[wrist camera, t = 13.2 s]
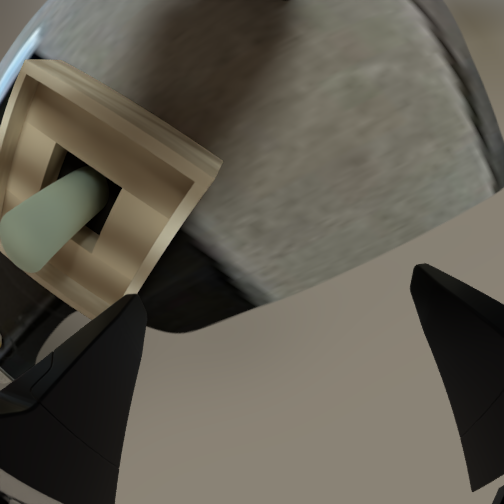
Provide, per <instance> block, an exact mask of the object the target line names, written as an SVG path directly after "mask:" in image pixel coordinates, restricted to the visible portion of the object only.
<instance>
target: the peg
mask: <svg viewBox="0 0 504 504" xmlns="http://www.w3.org/2000/svg"><path fill="white" fill-rule="evenodd" d="M108 199H109V186H108V183H107V180H106V178H105V177H104V175H103V174H101V173H100V172H98V171H97V170H95V169H94V168H92V167H90V166H84V167H81V168H79V169H77V170H75V171H73V172H71V173H70V174H68V175H66V176H64V177H62V178H61V179H59V180H57V181H56V182H54V183H52V184H50V185H49V186H47V187H45V188H44V189H42V190H41V191H39V192H37V193H36V194H34V195H33V196H31V197H29V198H28V199H26V200H25V201H23V202H22V203H20V204H19V205H17V206H16V207H14V208H13V209H12V210H10V211H9V212H7V213H6V214H5V215H4V216H3V217H2V219H1V222H0V239H1V243H2V245H3V248H4V250H5V252H6V254H7V255H8V257H9V258H10V260H11V261H12V262H13V263H14V264H15V265H16V266H17V267H19V268H20V269H22V270H23V271H26V272H29V273H35V272H38V271H39V270H41V268H42V267H43V266H44V265H45V264H46V263H47V262H48V261H49V260H50V259H51V258H52V257H53V256H54V255H55V254H56V253H57V252H58V251H59V250H60V249H61V248H62V246H63V245H64V244H65V243H67V242H68V241H69V240H70V239H71V238H72V237H73V236H74V235H75V234H76V233H77V232H78V231H79V230H80V229H81V228H82V227H83V226H84V225H85V224H86V223H87V222H88V221H90V220H91V219H92V218H93V217H94V216H95V215H96V214H97V213H98V212H99V211H101V210H102V209H103V208H104V207H105V205H106V204H107V202H108Z"/></svg>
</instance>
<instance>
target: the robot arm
mask: <svg viewBox="0 0 504 504" xmlns="http://www.w3.org/2000/svg"><path fill="white" fill-rule="evenodd" d="M410 291H411V295H412V298H413V301H414V304H415V307H416V310H417V313H418V316H419V319H420V322H421V325H422V328H423V331H424V334H425V336H426V338H427V341H428V343H429V346H430V348H431V351H432V353H433V356H434V358H435V361H436V364H437V366H438V369H439V372H440V375H441V377H442V380H443V383H444V386H445V388H446V392H447V394H448V398H449V400H450V404H451V407H452V410H453V414H454V417H455V421H456V424H457V428H458V431H459V435H460V437H461V443H462V447H463V451H464V456H465V460H466V465H467V469H468V474H469V479H470V485H471V490H472V492H474V491H476V490H478V489H480V488H481V487H483V486H485V485H487V484H489V483H490V482H492V481H494V480H495V479H497V478H499V477H500V476H502V475H503V474H504V304H501V303H500V302H498V301H497V300H495V299H493V298H491V297H489V296H488V295H486V294H484V293H482V292H480V291H479V290H477V289H475V288H473V287H471V286H469V285H467V284H465V283H464V282H462V281H460V280H458V279H456V278H454V277H452V276H450V275H448V274H446V273H444V272H442V271H441V270H439V269H437V268H435V267H433V266H430V265H429V264H426V263H425V264H418V265H416V266H415V267H414V269H413V275H412V280H411V284H410ZM146 323H147V313H146V310H145V308H144V306H143V303H142V301H141V299H140V297H139V295H138V294H126V295H124V296H123V297H122V298H120V299H119V300H118V301H116V302H115V303H114V304H112V305H111V306H110V307H108V308H107V309H106V310H105V311H103V312H102V313H101V314H99V315H98V316H97V317H95V318H94V319H93V320H92V321H90V322H89V323H88V324H87V325H85V326H84V327H83V328H81V329H80V330H79V331H78V332H76V333H75V334H74V335H73V336H71V337H70V338H69V339H67V340H66V341H65V342H64V343H63V344H61V345H60V346H59V347H58V348H56V349H55V350H54V352H51V353H50V354H49V355H48V356H46V357H45V358H44V359H43V360H41V361H40V362H39V363H37V364H36V365H35V366H34V367H32V368H31V369H30V370H28V371H27V372H26V373H24V374H23V375H21V376H20V377H19V378H17V379H16V380H14V381H13V382H12V383H10V384H9V385H8V386H6V387H5V388H4V389H2V390H1V391H0V504H115V496H116V489H117V481H118V474H119V466H120V460H121V453H122V447H123V442H124V436H125V431H126V426H127V420H128V415H129V410H130V406H131V401H132V396H133V392H134V387H135V383H136V379H137V374H138V370H139V366H140V361H141V357H142V351H143V343H144V337H145V330H146ZM492 504H504V485H503V486H502V487H500V488H499V489H498V492H497V494H496V496H495V498H494V501H493V503H492Z"/></svg>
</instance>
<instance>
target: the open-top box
mask: <svg viewBox="0 0 504 504" xmlns="http://www.w3.org/2000/svg"><path fill="white" fill-rule="evenodd" d="M67 151H69V152H71V153H72V154H73V155H75V156H76V157H78V158H79V159H81V160H82V161H84V162H85V163H86V164H88V165H89V166H91V167H92V168H94V169H95V170H97V171H98V172H100V173H101V174H103V175H104V176H105V177H107V178H108V179H110V180H111V181H113V182H114V183H116V184H117V185H119V186H120V187H122V190H121V192H120V194H119V196H118V198H117V200H116V202H115V204H114V206H113V208H112V210H111V212H110V214H109V216H108V218H107V220H106V222H105V224H104V227H103V229H102V231H101V233H100V236H99V235H98V234H97V233H95V232H94V231H92V230H91V229H89V228H88V227H87V226H85V225H84V226H83V227H82V228H81V229H80V230H79V231H78V232H77V233H76V234H75V235H74V236H73V237H72V238H71V239H70V240H69V241H68V242H67V243H65V244H64V245H63V246H62V248H61V249H60V250H59V251H58V252H57V253H56V254H55V255H54V256H53V257H52V258H51V259H50V260H49V261H48V262H47V263H46V264H45V265H44V266H43V267H42V268H41V270H39V271H38V272H35V273H29V272H26V271H24V272H25V273H27V274H28V275H29V276H31V277H32V278H33V279H34V280H36V281H37V282H38V283H40V284H41V285H42V286H44V287H45V288H46V289H48V290H49V291H50V292H52V293H53V294H54V295H56V296H57V297H59V298H60V299H61V300H63V301H64V302H66V303H67V304H69V305H70V306H71V307H73V308H74V309H76V310H77V311H79V312H80V313H82V314H83V315H85V316H86V317H88V318H89V319H91V320H93V319H94V318H95V317H97V316H98V315H99V314H101V313H102V312H103V311H105V310H106V309H107V308H108V307H110V306H111V305H112V304H114V303H115V302H116V301H118V300H119V299H120V298H122V297H123V296H124V295H126V294H137V293H138V291H139V290H140V288H141V287H142V285H143V283H144V282H145V280H146V279H147V277H148V275H149V274H150V272H151V271H152V269H153V268H154V266H155V264H156V263H157V261H158V260H159V258H160V257H161V255H162V254H163V252H164V251H165V249H166V248H167V246H168V245H169V243H170V242H171V240H172V239H173V237H174V236H175V234H176V233H177V231H178V230H179V228H180V227H181V226H182V224H183V223H184V221H185V220H186V218H187V217H188V215H189V214H190V213H191V211H192V210H193V208H194V207H195V206H196V204H197V203H198V201H199V200H200V199H201V197H202V196H203V194H204V193H205V192H206V190H207V189H208V188H209V186H210V185H211V184H212V182H213V181H214V179H215V178H216V176H217V174H218V171H219V169H220V167H221V165H222V163H223V161H222V160H221V159H220V158H218V157H217V156H215V155H214V154H212V153H211V152H209V151H208V150H207V149H205V148H204V147H202V146H201V145H199V144H198V143H196V142H195V141H193V140H192V139H190V138H189V137H187V136H186V135H184V134H183V133H181V132H180V131H178V130H177V129H175V128H174V127H172V126H171V125H169V124H168V123H166V122H165V121H163V120H161V119H160V118H158V117H157V116H155V115H154V114H152V113H150V112H149V111H147V110H146V109H144V108H143V107H141V106H139V105H138V104H136V103H134V102H133V101H131V100H130V99H128V98H126V97H125V96H123V95H121V94H120V93H118V92H116V91H115V90H113V89H111V88H110V87H108V86H106V85H105V84H103V83H101V82H99V81H98V80H96V79H94V78H92V77H91V76H89V75H87V74H85V73H84V72H82V71H80V70H78V69H77V68H75V67H73V66H71V65H69V64H67V63H66V62H64V61H62V60H25V61H24V63H23V66H22V68H21V70H20V73H19V75H18V77H17V80H16V82H15V85H14V87H13V90H12V93H11V96H10V98H9V101H8V104H7V107H6V110H5V113H4V116H3V120H2V123H1V126H0V222H1V219H2V217H3V216H4V215H5V214H6V213H7V212H9V211H10V210H12V209H13V208H14V207H16V206H17V205H19V204H20V203H22V202H23V201H25V200H26V199H28V198H29V197H31V196H33V195H34V194H36V193H37V192H39V191H41V190H42V189H44V188H45V187H47V186H49V185H50V184H52V183H54V182H56V181H57V178H58V175H59V172H60V169H61V167H62V164H63V162H64V159H65V156H66V154H67ZM0 251H1V252H2V253H3V254H4V255H5V256H6V257H7V258H9V257H8V255H7V254H6V252H5V250H4V248H3V245H2V243H1V239H0ZM9 259H10V258H9Z"/></svg>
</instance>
